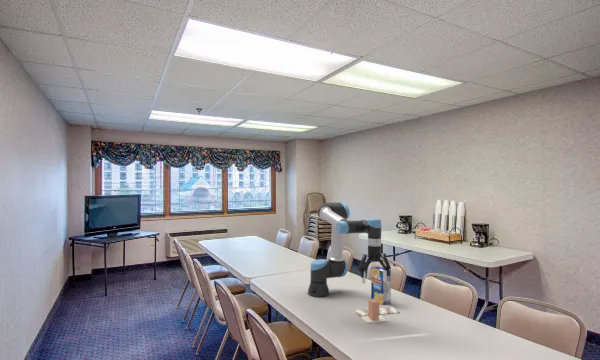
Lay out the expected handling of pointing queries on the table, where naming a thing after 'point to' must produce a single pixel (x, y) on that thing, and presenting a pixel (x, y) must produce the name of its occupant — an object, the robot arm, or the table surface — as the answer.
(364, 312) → the white tray
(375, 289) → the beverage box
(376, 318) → the stub
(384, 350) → the table surface
